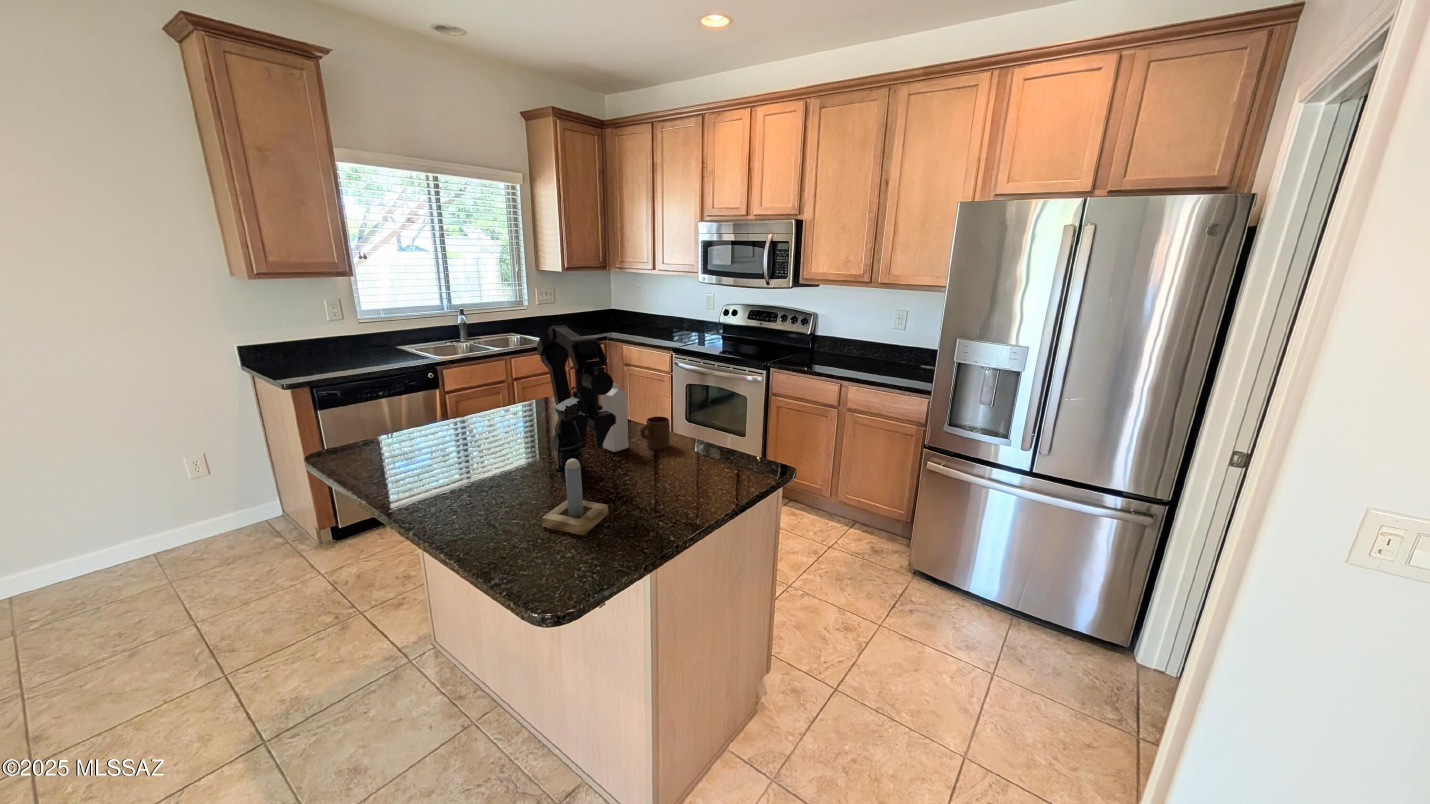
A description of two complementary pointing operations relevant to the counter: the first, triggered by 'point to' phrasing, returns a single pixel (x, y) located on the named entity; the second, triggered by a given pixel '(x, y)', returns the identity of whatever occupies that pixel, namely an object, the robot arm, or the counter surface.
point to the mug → (657, 433)
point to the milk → (619, 431)
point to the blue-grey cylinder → (574, 488)
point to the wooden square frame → (581, 526)
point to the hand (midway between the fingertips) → (590, 443)
